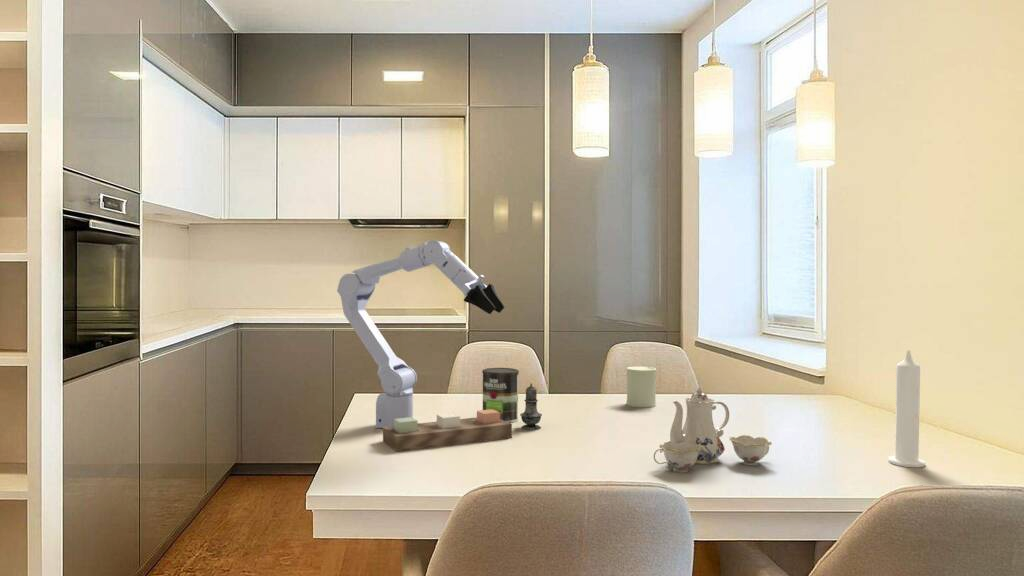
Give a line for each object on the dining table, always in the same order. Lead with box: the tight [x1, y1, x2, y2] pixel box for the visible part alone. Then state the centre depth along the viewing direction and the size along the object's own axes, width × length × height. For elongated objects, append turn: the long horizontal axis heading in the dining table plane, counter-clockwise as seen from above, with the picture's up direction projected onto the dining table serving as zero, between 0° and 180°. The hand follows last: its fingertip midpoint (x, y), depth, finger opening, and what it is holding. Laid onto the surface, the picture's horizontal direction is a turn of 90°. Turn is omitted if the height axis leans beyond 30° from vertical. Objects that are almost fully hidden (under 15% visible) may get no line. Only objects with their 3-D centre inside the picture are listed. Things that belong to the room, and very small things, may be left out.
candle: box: [887, 349, 926, 469], centre depth 152 cm, size 7×7×25 cm
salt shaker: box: [520, 383, 543, 431], centre depth 186 cm, size 6×6×12 cm
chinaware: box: [653, 386, 772, 474], centre depth 152 cm, size 28×17×17 cm, turn 114°
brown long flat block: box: [382, 416, 513, 453], centre depth 173 cm, size 30×11×4 cm, turn 117°
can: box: [625, 365, 657, 409], centre depth 218 cm, size 9×9×12 cm
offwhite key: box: [436, 412, 461, 429], centre depth 173 cm, size 4×4×3 cm
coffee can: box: [481, 367, 520, 424], centre depth 196 cm, size 10×10×14 cm
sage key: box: [394, 417, 418, 433], centre depth 167 cm, size 4×4×3 cm
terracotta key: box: [476, 409, 500, 424], centre depth 178 cm, size 4×4×3 cm
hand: (497, 310), depth 177 cm, fingers open, 7 cm apart
